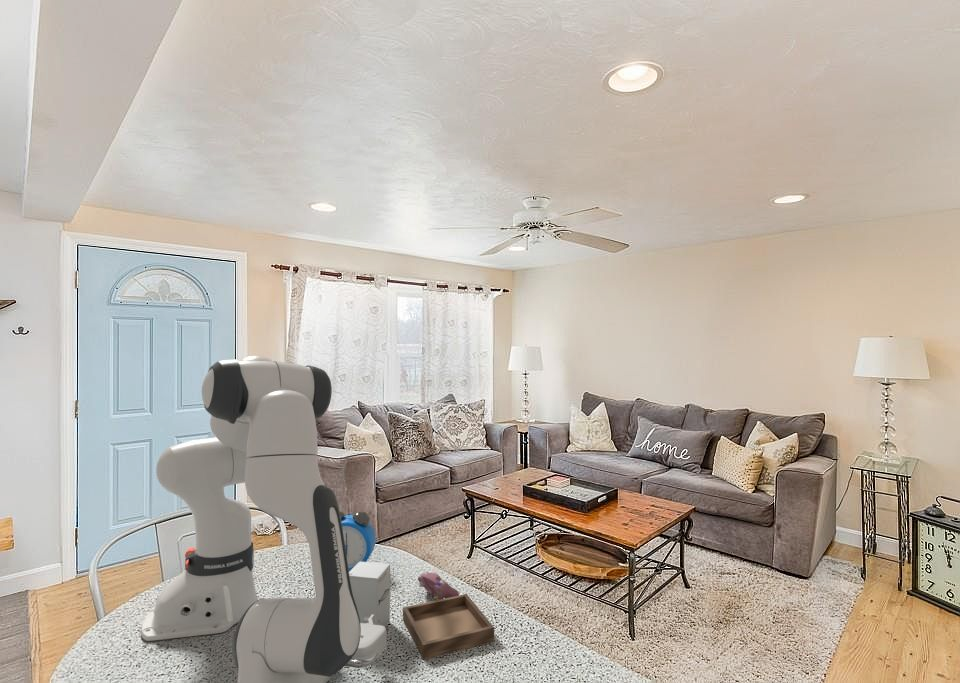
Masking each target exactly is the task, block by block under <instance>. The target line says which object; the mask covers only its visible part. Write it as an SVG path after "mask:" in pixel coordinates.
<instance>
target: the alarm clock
mask: <svg viewBox="0 0 960 683" xmlns="http://www.w3.org/2000/svg"><path fill="white" fill-rule="evenodd" d="M339 511H340V516H341V522H342V528H343V535H344V541H345V548H346V555H347V562H348V569H349V572H350V571H351V569H352V568H354V567H355V566H356V565H357V563H358V562H368V560H369V558H370V557H371V555H372V554H373V551H374V549H375V547H376V541H377V540H376V533H375V530H374V528H373V526H372V525H371V517H370V514H369V513H367V512H366V511H363V510H362V511H361V510H358V511H356V512H355V513H353V514H351V513H345V512H344V511H342V510H339Z"/></svg>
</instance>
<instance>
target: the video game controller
mask: <svg viewBox="0 0 960 683" xmlns="http://www.w3.org/2000/svg"><path fill="white" fill-rule="evenodd" d="M417 581H418V582H419V583H418V584H419V586H420V587H421V588H424V589H425V590H426V592H427V593H428V594H429V595H430V596H432V597H434V596H435V598H436V600H440V599H445V598H450V597H454V596H459V595H460V592H459V591H458V590H457V589H456V588H453V587H452V586H451V585H450V584H449V582H447V581H446V580H444V579H443V578H442V577H441V576H440V575H439V574H438V573H436V572H429V571H428V570H426V571H425V572H423V573H421V574H420V575H419V576H418V577H417Z"/></svg>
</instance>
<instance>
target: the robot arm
mask: <svg viewBox="0 0 960 683" xmlns="http://www.w3.org/2000/svg"><path fill="white" fill-rule="evenodd" d="M332 386H333V385H332V382H331V378H330V377H329V375H328V373H327V372H326V371H325V370H324V369H322V368H319V367H317V366H314V365H310V364H308V365H303V364H301V365H300V364H296V363H291V362H284V361H277V360H272V359H270V358H268V357H265V356H262V355H252V356H251V355H249V356H246V357H244V358H242V359H240V360H238V359H225V360H224V359H223V360H219V361H216V362H215V363H213V364H212V365H211V366H210V367H209V369H208V371H207V373H206V375H205V377H204V379H203V381H202V386H201V398H202V401H203V406H204V410H205V411H206V412H207V413H208V414H210V416H211V417H210V420H209V422H210V423H209V424H210V426H209V427H210V429H211V432H212V433H213V436H214V437H207V438H201V439H200V438H197V439H192V440H187V441H184V442H181V443H177V444H174V445H171V446H168V447H166V448H165V449H164V451H163V452H162V453H161V454H160V456H159V458H158V460H157V463H156V477H157V480H158V482H159V485H160V486H161V487H163V489H164V490H166V491H167V492H168V493H170V494H173V495H174V496H176V497H178V498H180V499H181V500H182V501H183V502H184V503H185V504H186V505H187V507H188V508H189V510H190V512H191V514H192V518H193V521H194V528H195V529H194V531H195V533H194V534H195V547H188V548H187V550H186V551H185V555H184V556H185V557H184V558H185V559H184V560H185V561H184V562H185V563H184V567H185V568H184V570H183V571H182V572H180V573H179V574H178V575H177V576H176V577H175V578H173V579H172V580H171V581H170V582H168V583H167V584H166V585H165V586H164V587H163V588H162V589H161V591H160V593H159V595H158V597H157V599H156V603H155V604H154V606H155V607H154V608H153V609H151V610H150V611H149V612H148V614H146V615H145V617H144V619H143V622H142V623H141V624H142V625H141V630H140V631H141V632H140V636H141V637H142V639H143V640H144V641H147V642H150V641H151V642H152V641H160V640H170V639H177V638H187V637H195V636H206V635H213V634H222V633H224V632H227V631H228V630H229V629H231V628H232V627H233V626H234V625H236V624H237V625H236V627H235V629H234V631H233V635H232V638H231V651H232V652H231V653H232V657H233V662H234V664H235V668H236V672H237V683H327V682H328V681H329V680H330V679H331V677H332V676H334V675H336V674H337V673H339V672H340V671H341V670H342V669H344V668H345V667H349V668H357V669H363V668H367V667H369V666H372V665H373V663H375V661H376V660H377V659H378V658H379V657H380V656H381V655H382V654H383V653H384V651H385V649H386V648H387V644H388V633H387V629H386V627H384V626H381V625H374V623H375V615H373V614H367V616H365V617H364V622H365V623H360V618H359V614H358V610H357V607H356V604H355V600H354V597H353V593H352V588H351V582H350V575H349V569H348V562H347V555H346V548H345V541H344V535H343V528H342V522H341V516H340V511H341V510H340V507H339V503H338V499H337V497H336V494H335V493H334V491H333V490H332V489H331V488H329V487H327V486H326V485H325V482H324V481H323V479H322V477H321V473H320V468H319V465H318V464H319V463H318V431H317V422H316V420H317V419H319V418H322V417H323V415H325V413H326V412H327V411H328V409H329V406H330V404H331V401H332V394H333V393H332V392H333V391H332V388H333V387H332ZM238 484H245V491H246V494H247V496H248V498H249V499H250V501H251V502H252V503H253V504H254V505H255V506H256V507H257V508H258V509H260V510H261V511H263V512H264V513H266V514H268V515H270V516H272V517H275V518H277V519H280V520H282V521H285V522H288V523H289V524H291V525H293V526H294V527H295V528H298V529H299V531H300V532H301V533H302V534H303V535H304V536H305V538H306V540H307V542H308V546H309V552H310V554H309V555H310V559H311V560H310V561H311V570H312V576H313V584H314V592H315V593H314V594H315V597H297V598H294V597H293V598H292V597H273V598H271V597H270V598H260V599H259V598H258V595H257V591H256V586H255V585H256V584H255V581H254V573H253V572H254V570H253V569H254V564H255V547H254V542H253V541H252V513H251V510H250V508H249V507H248V505H247V504H245V503H244V502H242V501H239V500H237V499H233V498H229V497H226V495H225V487H228V486H233V485H238Z"/></svg>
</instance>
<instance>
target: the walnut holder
mask: <svg viewBox="0 0 960 683" xmlns="http://www.w3.org/2000/svg"><path fill="white" fill-rule="evenodd" d="M402 621H403V624H404V625H405V628H406V630H407V631H408V633H409V636H410V637H411V638H412V641H413V642H414V645H415V646H416V649H417V651H418V653H419V655H420V657H421V659H422V660H423V661H424V660H429V659H432V658H436V657H439V656H444V655H447V654H452V653H455V652H459V651H463V650H467V649H470V648H474V647H478V646H482V645H486V644H491V643H493V642H495V627H494V625H493V624H492V623H491V622H490V621H489V618H487V617H486V616H485V615H484V613H483V612H482V611H481V609H480V608H479V607H478V606H477V604H476V603H475V602H474V601H473V600H472V599H471V598H470V596H469V594H467V593H465V594H459V596H454V597H450V598H444V599H440V600H439V599H436V600H431V601H427V602H422V603H417V604H413V605H409V606H404V607H402Z"/></svg>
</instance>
